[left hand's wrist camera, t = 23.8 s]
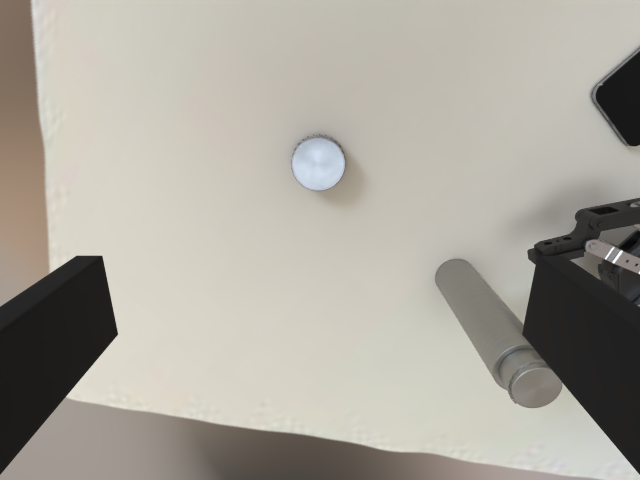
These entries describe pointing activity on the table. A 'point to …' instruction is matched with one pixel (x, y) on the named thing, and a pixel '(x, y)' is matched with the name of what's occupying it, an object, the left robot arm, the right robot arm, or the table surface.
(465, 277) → the grey long cylinder
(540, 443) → the table surface
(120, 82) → the table surface
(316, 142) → the lid
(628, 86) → the smartphone
